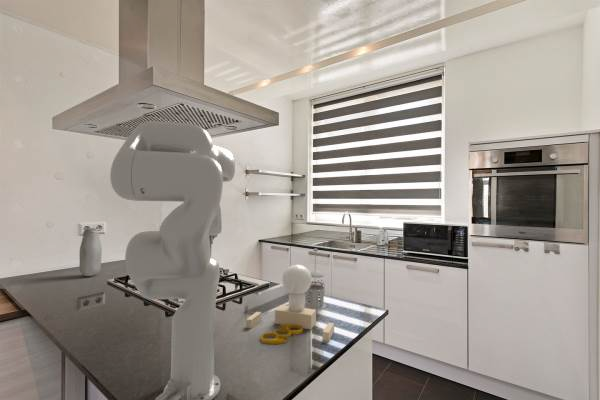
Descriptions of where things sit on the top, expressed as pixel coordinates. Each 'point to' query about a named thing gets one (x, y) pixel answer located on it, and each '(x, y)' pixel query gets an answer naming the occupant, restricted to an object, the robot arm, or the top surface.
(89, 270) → the glass bottle
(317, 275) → the french press
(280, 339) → the novelty glasses
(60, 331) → the top surface
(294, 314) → the cream blocks and ball
